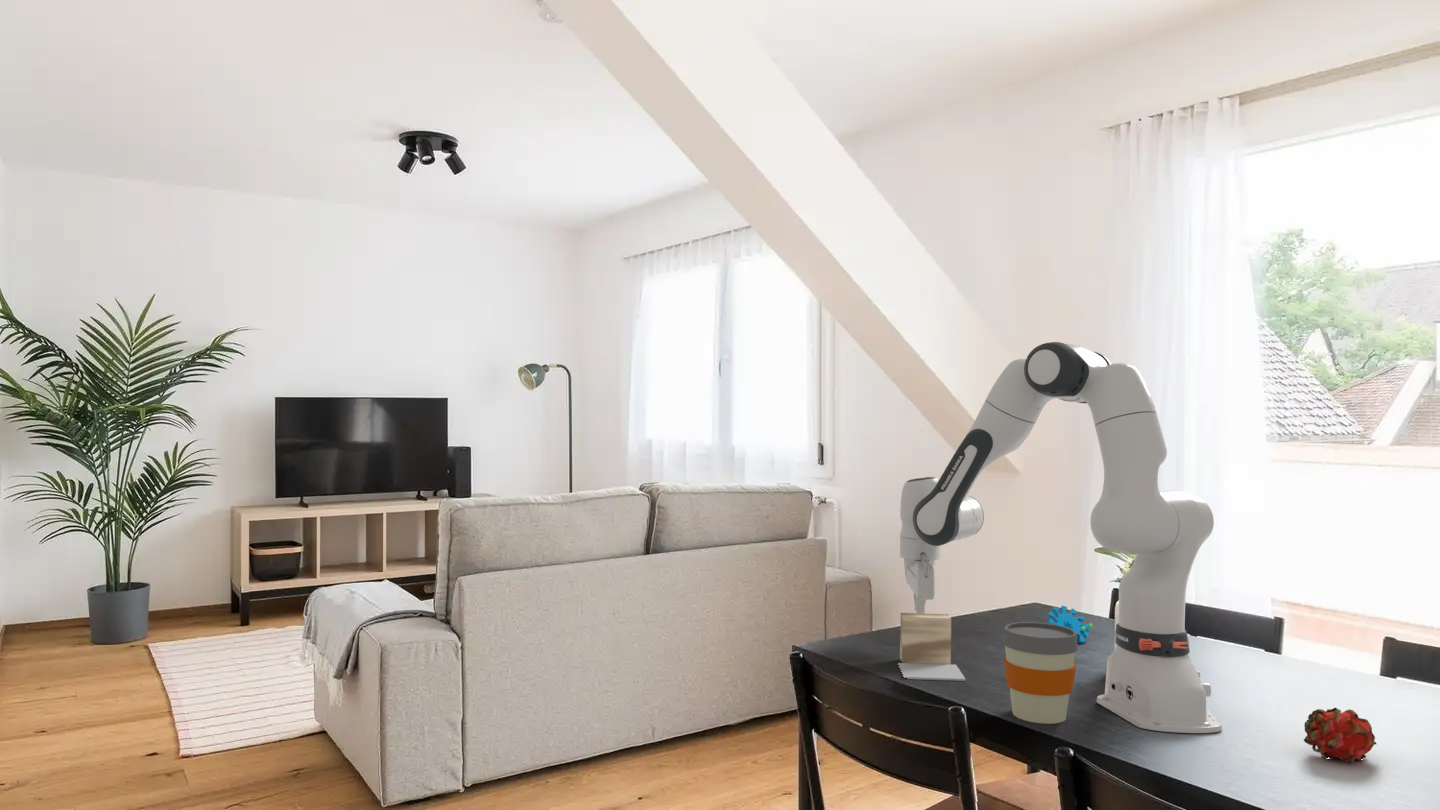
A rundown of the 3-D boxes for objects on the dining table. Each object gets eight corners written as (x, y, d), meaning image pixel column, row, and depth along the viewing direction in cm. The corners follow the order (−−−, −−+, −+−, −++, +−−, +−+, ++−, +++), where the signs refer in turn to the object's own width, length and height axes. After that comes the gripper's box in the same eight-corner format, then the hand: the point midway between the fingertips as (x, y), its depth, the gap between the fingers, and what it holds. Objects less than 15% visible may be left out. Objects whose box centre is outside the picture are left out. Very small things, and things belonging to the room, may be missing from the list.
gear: (1055, 638, 218) (1045, 601, 225) (1044, 652, 222) (1034, 615, 229) (1100, 644, 219) (1089, 607, 226) (1088, 657, 223) (1078, 621, 230)
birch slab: (950, 666, 199) (951, 618, 199) (902, 664, 200) (902, 616, 200) (947, 661, 203) (947, 614, 203) (900, 659, 204) (900, 612, 204)
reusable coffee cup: (995, 719, 165) (996, 632, 165) (1009, 700, 176) (1010, 619, 176) (1071, 731, 159) (1072, 642, 159) (1081, 711, 170) (1082, 627, 170)
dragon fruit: (1298, 768, 148) (1363, 775, 151) (1340, 752, 142) (1407, 759, 144) (1280, 714, 153) (1343, 721, 156) (1319, 696, 147) (1384, 704, 149)
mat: (965, 680, 188) (965, 678, 188) (904, 678, 189) (904, 676, 189) (955, 666, 199) (955, 664, 199) (897, 664, 200) (897, 662, 200)
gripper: (942, 557, 201) (941, 623, 201) (927, 543, 222) (927, 603, 221) (911, 556, 202) (911, 622, 201) (900, 543, 222) (899, 602, 222)
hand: (919, 612), depth 212 cm, fingers closed
